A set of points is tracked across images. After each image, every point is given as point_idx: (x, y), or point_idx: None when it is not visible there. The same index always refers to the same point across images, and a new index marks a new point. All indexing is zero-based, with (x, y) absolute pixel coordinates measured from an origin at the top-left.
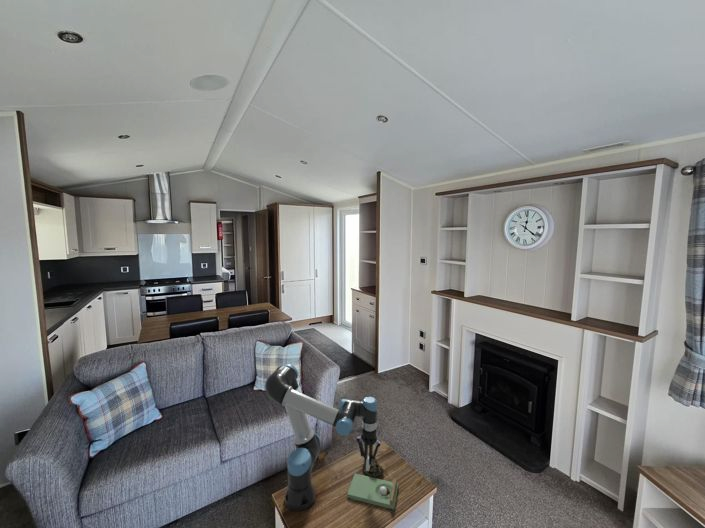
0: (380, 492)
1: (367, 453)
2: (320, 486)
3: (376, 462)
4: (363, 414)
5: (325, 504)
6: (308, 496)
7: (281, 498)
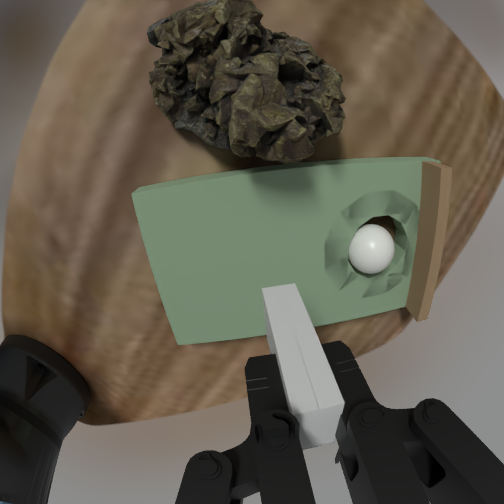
0: (359, 270)
1: (305, 469)
2: (45, 319)
3: (257, 19)
4: None
5: (123, 378)
6: (74, 419)
7: None
